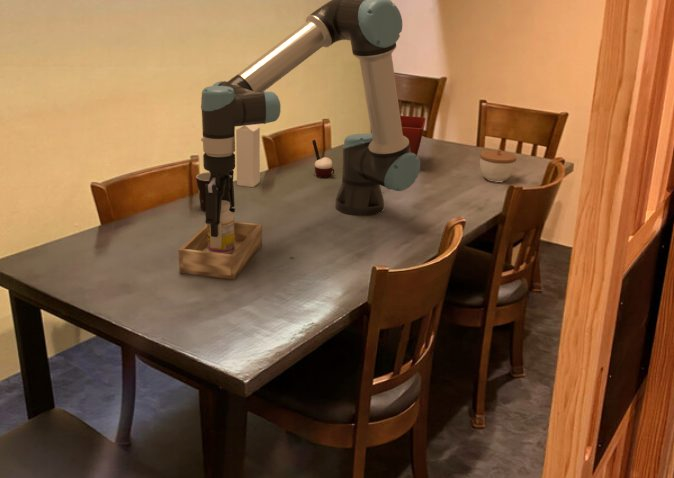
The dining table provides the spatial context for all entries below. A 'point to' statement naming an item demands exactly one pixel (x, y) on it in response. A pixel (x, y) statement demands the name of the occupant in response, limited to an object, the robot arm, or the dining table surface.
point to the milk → (248, 155)
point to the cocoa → (322, 164)
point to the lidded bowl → (497, 165)
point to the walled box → (218, 264)
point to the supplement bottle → (224, 230)
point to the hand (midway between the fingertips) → (221, 241)
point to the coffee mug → (202, 188)
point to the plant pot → (413, 131)
